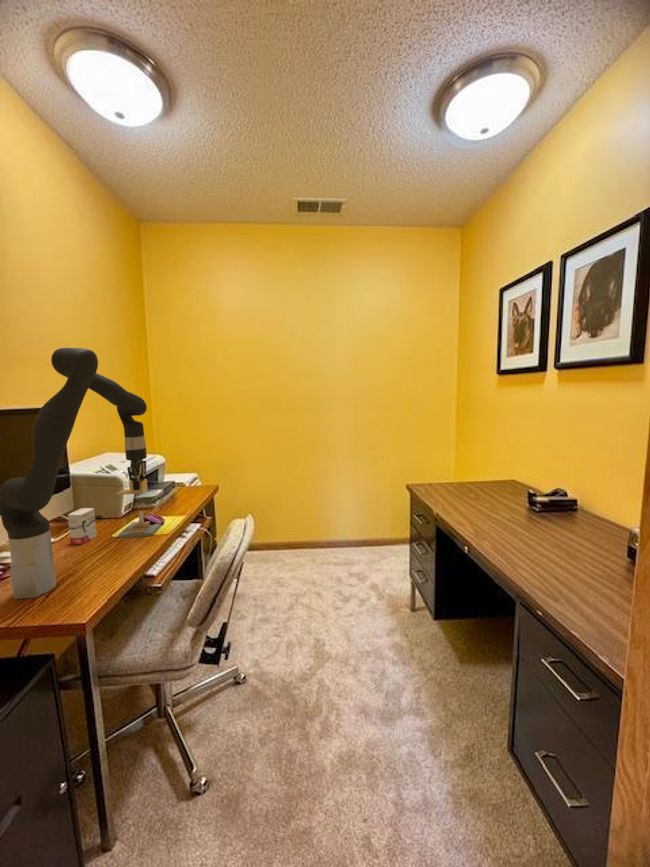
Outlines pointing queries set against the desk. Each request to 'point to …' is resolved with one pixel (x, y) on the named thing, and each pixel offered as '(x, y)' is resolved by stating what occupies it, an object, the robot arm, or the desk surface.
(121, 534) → the hinge base
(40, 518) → the robot arm
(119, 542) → the desk surface
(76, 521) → the ink box
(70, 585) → the desk surface
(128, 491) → the beige flanged block
